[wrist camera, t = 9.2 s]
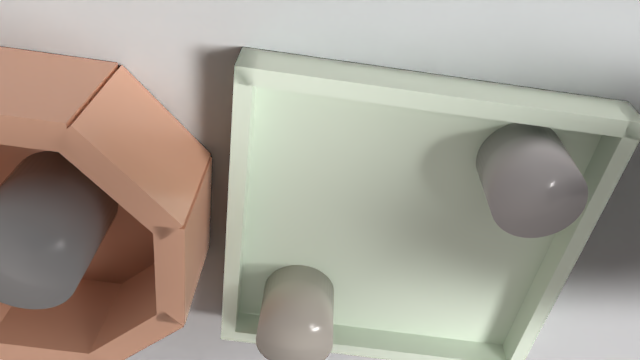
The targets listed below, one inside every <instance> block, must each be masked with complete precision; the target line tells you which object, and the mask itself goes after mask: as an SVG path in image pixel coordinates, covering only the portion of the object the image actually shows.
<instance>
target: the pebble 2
mask: <svg viewBox="0 0 640 360" xmlns="http://www.w3.org/2000/svg"><path fill="white" fill-rule="evenodd" d="M476 169H477V172H478V175H479V178H480V181H481V184H482V187H483V190H484V193H485V196H486V199H487V202H488V205H489V208H490V211H491V214H492V216H493V219H494V221H495V222H496V224H497V225H498V226H499V227H500V228H501V229H503V230H504V231H506V232H507V233H509V234H512V235H514V236H518V237H523V238H538V237H544V236H548V235H551V234H554V233H557V232H559V231H561V230H563V229H565V228H566V227H568V226H569V225H570V224H572V223H573V222H574V221H575V220H576V219H577V218H578V217H579V216H580V214H581V213H582V212H583V210H584V208H585V206H586V203H587V200H588V187H587V183H586V181H585V179H584V178H583V176H582V174H581V173H580V171H579V169H578V168H577V166H576V165H575V163H574V161H573V160H572V158H571V156H570V155H569V153H568V151H567V150H566V148H565V146H564V145H563V143H562V142H561V140H560V138H559V137H558V135H557V134H556V133H555V132H554V131H553V130H552V129H551V128H549V127H542V126H535V125H527V124H520V123H511V124H508V125H506V126H503V127H501V128H499V129H498V130H496V131H494V132H493V133H492V134H491V135H489V136H488V137H487V138H486V139H485V141H484V142H483V143H482V145H481V147H480V148H479V151H478V153H477V157H476Z"/></svg>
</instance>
